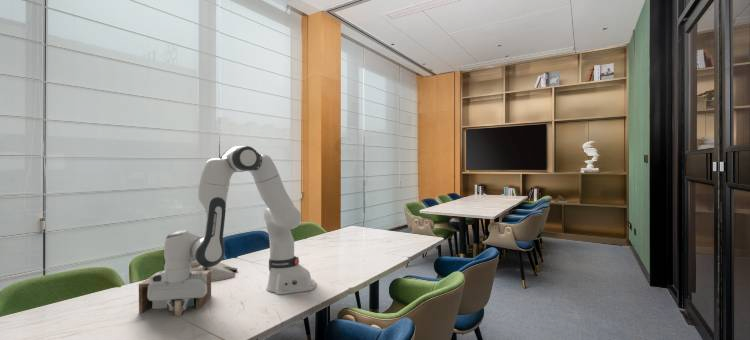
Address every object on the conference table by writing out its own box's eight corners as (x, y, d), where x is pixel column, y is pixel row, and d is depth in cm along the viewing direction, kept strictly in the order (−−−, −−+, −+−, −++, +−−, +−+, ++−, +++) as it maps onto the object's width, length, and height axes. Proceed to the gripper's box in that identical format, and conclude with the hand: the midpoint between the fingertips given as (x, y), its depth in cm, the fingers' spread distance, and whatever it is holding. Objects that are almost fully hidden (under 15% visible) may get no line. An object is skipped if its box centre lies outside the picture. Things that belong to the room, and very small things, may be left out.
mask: (179, 256, 179) (239, 253, 186) (179, 273, 179) (239, 269, 186) (166, 267, 159) (233, 263, 167) (166, 286, 159) (233, 281, 167)
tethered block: (198, 300, 140) (198, 287, 140) (184, 315, 126) (184, 300, 126) (184, 301, 139) (184, 288, 139) (169, 316, 125) (169, 301, 125)
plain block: (173, 302, 139) (173, 290, 139) (167, 308, 133) (167, 295, 133) (159, 303, 138) (158, 291, 138) (152, 309, 133) (152, 296, 132)
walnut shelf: (211, 295, 146) (210, 270, 146) (199, 308, 132) (199, 280, 132) (156, 299, 143) (156, 273, 143) (138, 312, 129) (138, 284, 129)
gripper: (209, 269, 132) (209, 304, 132) (153, 272, 128) (153, 308, 128) (203, 274, 125) (204, 311, 125) (144, 278, 122) (145, 315, 122)
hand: (178, 309), depth 127 cm, fingers closed on tethered block, 2 cm apart
